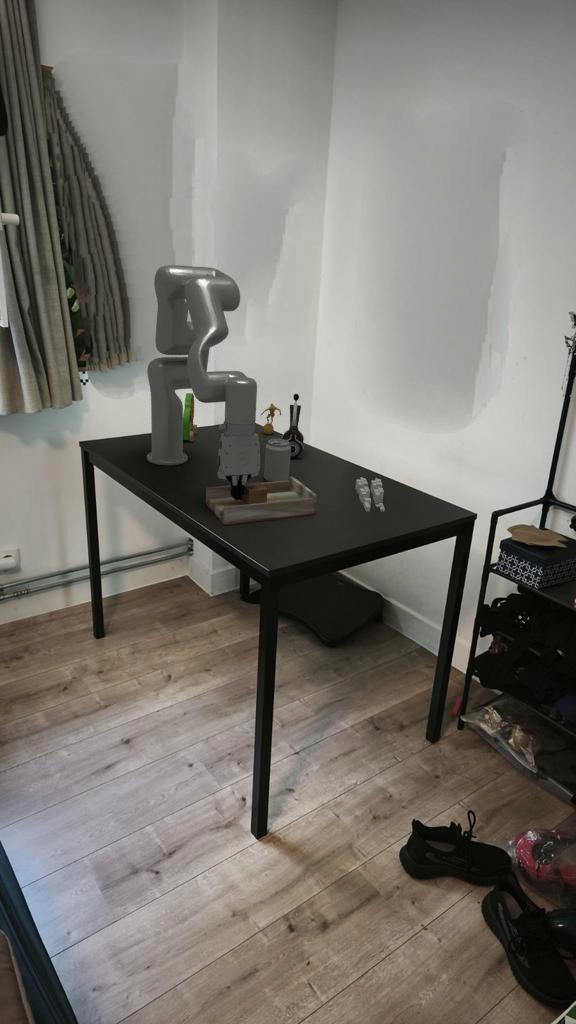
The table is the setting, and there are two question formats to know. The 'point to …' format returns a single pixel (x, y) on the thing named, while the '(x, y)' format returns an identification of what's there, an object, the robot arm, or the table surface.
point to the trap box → (280, 503)
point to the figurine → (268, 427)
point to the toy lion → (189, 418)
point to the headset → (294, 430)
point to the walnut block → (254, 493)
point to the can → (277, 460)
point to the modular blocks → (365, 493)
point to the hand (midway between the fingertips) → (237, 498)
